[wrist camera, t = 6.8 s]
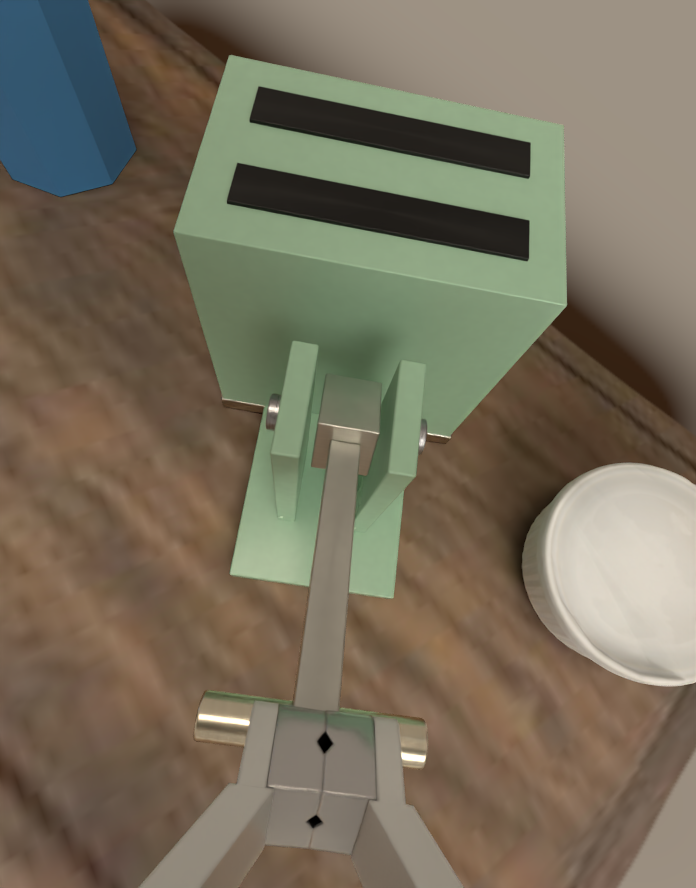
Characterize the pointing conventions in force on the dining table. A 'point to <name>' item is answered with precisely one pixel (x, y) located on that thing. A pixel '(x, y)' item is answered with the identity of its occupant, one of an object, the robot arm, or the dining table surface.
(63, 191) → the water bottle
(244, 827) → the robot arm
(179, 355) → the dining table surface
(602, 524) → the ramekin
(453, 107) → the toaster
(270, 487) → the switch bracket
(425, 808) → the dining table surface
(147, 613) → the dining table surface
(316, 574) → the lever
